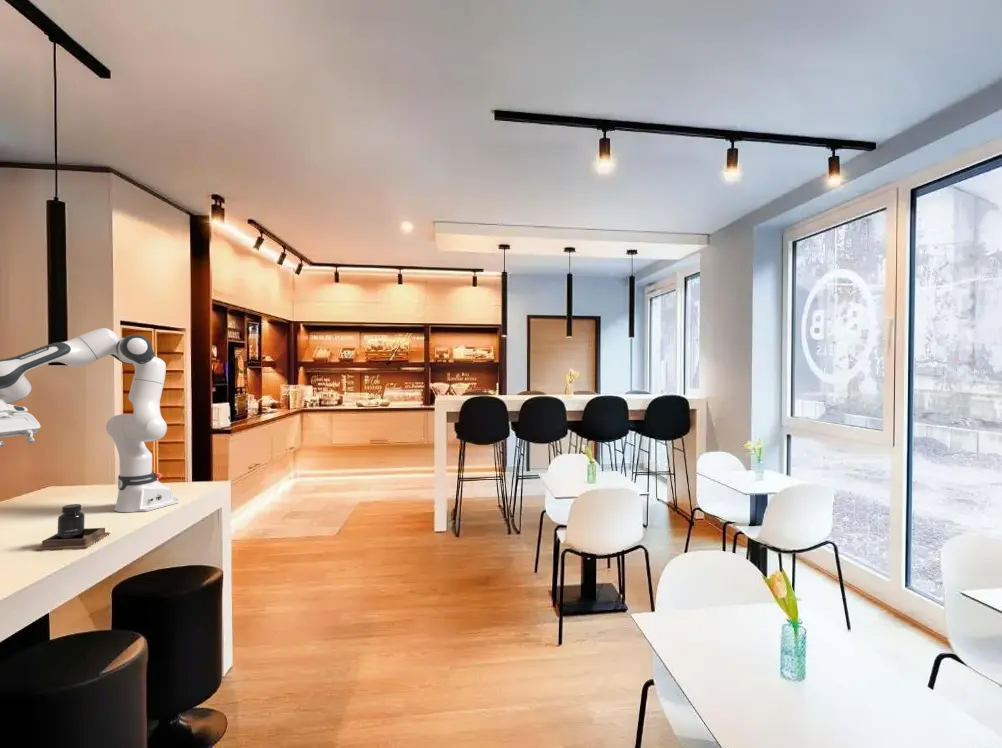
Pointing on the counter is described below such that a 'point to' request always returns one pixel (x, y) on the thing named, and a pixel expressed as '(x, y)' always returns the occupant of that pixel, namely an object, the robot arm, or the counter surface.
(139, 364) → the robot arm
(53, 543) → the walnut tray
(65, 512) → the supplement bottle
